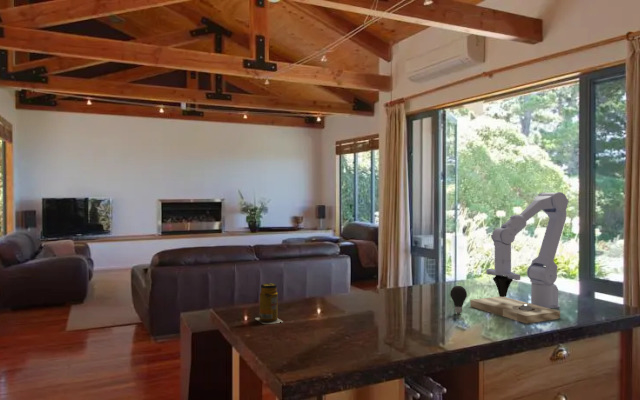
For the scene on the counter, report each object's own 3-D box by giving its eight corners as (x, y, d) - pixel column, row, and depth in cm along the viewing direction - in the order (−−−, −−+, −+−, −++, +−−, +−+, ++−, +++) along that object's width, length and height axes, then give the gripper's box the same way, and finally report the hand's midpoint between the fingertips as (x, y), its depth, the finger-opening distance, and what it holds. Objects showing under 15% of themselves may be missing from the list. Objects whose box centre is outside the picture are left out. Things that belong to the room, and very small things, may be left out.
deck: (501, 302, 182) (501, 296, 182) (560, 318, 158) (560, 311, 158) (470, 306, 175) (470, 299, 175) (526, 323, 152) (526, 315, 152)
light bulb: (467, 316, 161) (467, 287, 160) (451, 315, 162) (451, 286, 162) (465, 312, 166) (465, 284, 166) (449, 311, 167) (449, 284, 167)
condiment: (274, 316, 159) (275, 281, 159) (283, 322, 151) (283, 286, 151) (254, 318, 156) (254, 283, 155) (262, 325, 148) (262, 288, 148)
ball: (532, 318, 160) (526, 314, 164) (535, 307, 160) (529, 304, 164) (522, 315, 160) (516, 312, 164) (524, 304, 160) (519, 301, 164)
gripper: (480, 258, 176) (480, 293, 176) (510, 263, 163) (510, 301, 163) (494, 257, 179) (494, 292, 179) (524, 262, 166) (524, 299, 166)
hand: (502, 296), depth 171 cm, fingers closed
